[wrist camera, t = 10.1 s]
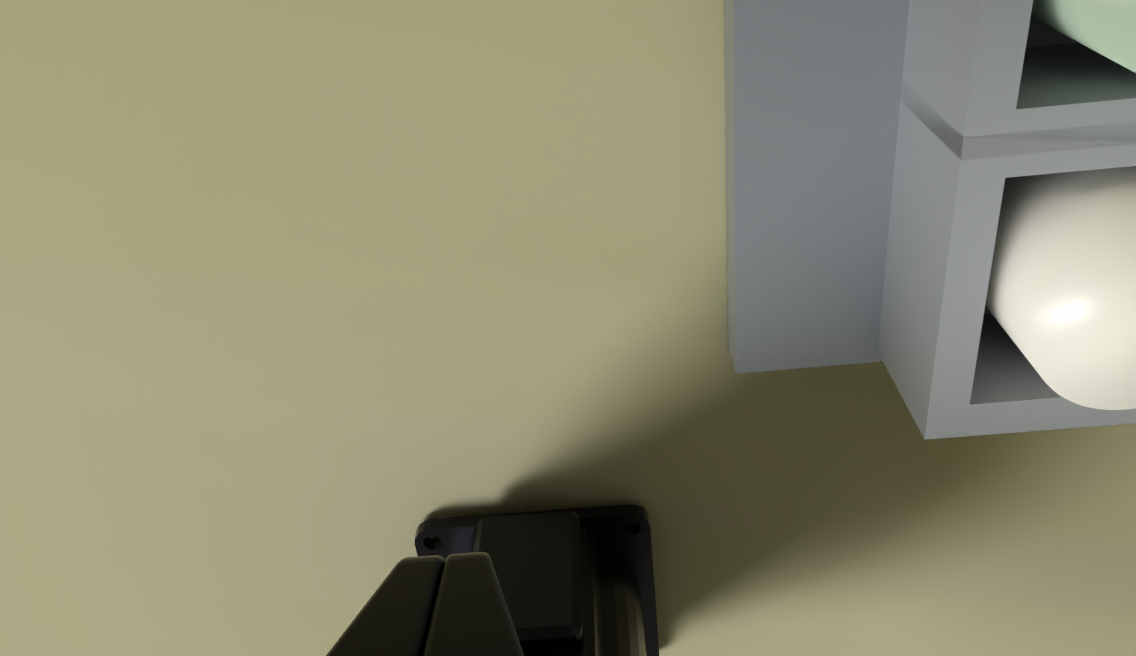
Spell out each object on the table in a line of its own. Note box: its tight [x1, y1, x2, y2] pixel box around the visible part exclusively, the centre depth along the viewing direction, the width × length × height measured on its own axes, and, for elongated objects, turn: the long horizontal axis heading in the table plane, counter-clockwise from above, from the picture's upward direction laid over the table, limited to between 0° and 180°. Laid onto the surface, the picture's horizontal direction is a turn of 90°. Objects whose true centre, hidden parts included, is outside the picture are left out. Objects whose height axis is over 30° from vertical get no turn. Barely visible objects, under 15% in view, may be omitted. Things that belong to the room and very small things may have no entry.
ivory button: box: [985, 166, 1136, 410], centre depth 18 cm, size 4×4×4 cm
